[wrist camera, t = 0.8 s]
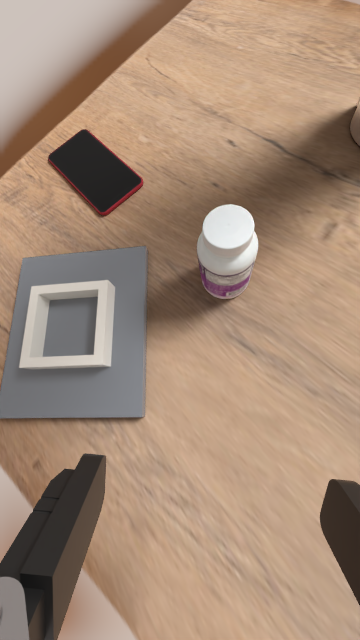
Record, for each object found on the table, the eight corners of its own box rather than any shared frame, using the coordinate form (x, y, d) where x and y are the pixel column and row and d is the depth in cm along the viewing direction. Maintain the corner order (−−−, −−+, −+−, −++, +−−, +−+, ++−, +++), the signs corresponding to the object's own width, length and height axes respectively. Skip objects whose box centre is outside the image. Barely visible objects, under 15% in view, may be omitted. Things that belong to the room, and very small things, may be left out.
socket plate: (28, 262, 33) (10, 249, 30) (147, 250, 31) (140, 236, 28) (3, 417, 28) (-22, 420, 25) (144, 416, 26) (135, 419, 23)
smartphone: (84, 126, 38) (145, 180, 34) (87, 132, 39) (147, 185, 34) (45, 156, 38) (101, 215, 33) (49, 162, 38) (104, 220, 34)
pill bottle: (206, 253, 30) (201, 192, 21) (253, 260, 29) (269, 198, 20) (196, 296, 29) (186, 251, 20) (244, 304, 28) (257, 261, 18)
